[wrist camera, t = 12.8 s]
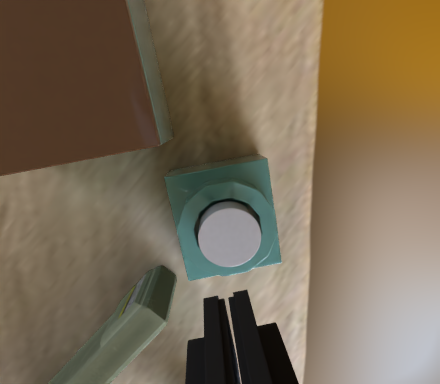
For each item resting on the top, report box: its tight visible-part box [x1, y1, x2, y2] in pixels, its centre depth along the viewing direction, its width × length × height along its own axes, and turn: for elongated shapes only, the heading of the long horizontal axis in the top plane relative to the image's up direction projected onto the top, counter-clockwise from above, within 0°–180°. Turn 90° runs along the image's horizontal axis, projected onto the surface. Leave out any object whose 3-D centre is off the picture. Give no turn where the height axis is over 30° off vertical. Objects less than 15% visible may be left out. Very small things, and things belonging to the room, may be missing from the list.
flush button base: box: [164, 154, 282, 281], centre depth 23 cm, size 9×8×5 cm
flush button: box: [198, 201, 261, 267], centre depth 20 cm, size 4×4×2 cm
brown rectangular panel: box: [0, 0, 161, 176], centre depth 14 cm, size 14×12×1 cm
